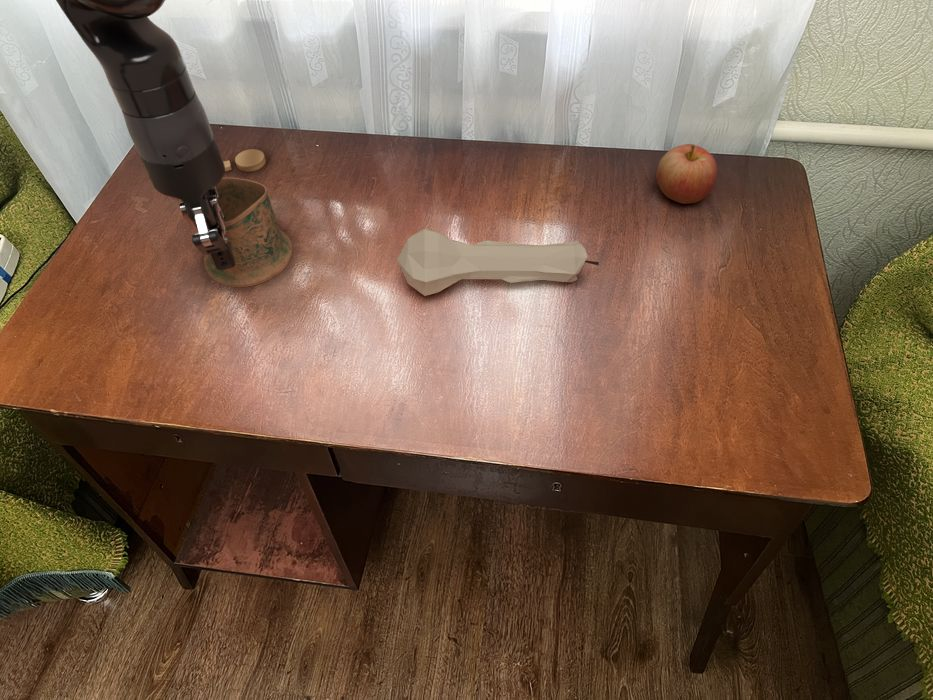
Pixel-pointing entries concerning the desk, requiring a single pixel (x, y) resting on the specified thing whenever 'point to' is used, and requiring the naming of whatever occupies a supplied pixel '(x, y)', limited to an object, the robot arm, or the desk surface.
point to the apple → (687, 173)
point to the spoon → (248, 161)
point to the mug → (249, 235)
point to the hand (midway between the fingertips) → (226, 265)
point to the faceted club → (485, 261)
